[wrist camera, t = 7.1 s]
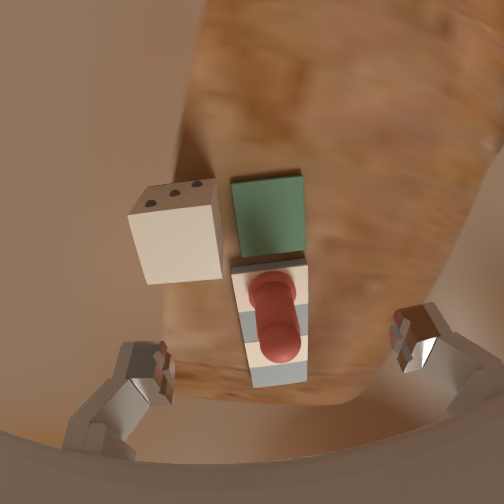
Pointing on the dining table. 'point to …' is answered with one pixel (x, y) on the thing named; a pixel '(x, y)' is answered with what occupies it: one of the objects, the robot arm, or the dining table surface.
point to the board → (259, 365)
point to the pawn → (275, 315)
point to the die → (179, 232)
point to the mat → (270, 215)
